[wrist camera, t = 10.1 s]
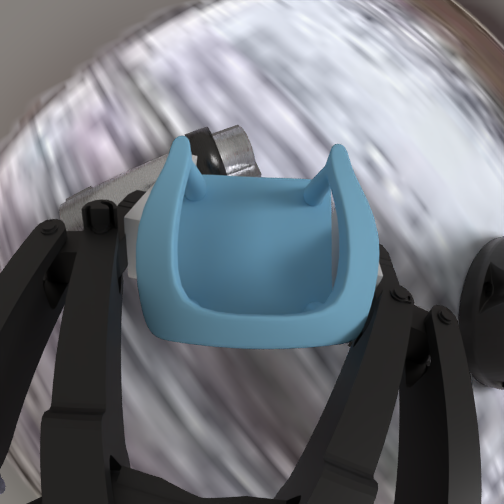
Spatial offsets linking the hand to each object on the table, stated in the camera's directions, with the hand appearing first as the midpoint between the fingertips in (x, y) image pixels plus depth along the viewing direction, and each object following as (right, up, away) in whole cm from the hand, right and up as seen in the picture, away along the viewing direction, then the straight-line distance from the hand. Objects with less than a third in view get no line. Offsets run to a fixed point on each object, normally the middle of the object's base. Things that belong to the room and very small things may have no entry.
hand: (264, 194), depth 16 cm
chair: (-1, -4, +4) cm, 6 cm away
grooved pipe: (-8, +2, +7) cm, 11 cm away
